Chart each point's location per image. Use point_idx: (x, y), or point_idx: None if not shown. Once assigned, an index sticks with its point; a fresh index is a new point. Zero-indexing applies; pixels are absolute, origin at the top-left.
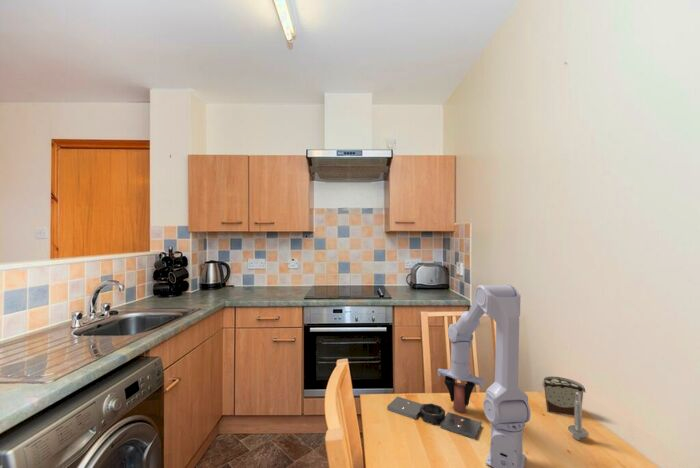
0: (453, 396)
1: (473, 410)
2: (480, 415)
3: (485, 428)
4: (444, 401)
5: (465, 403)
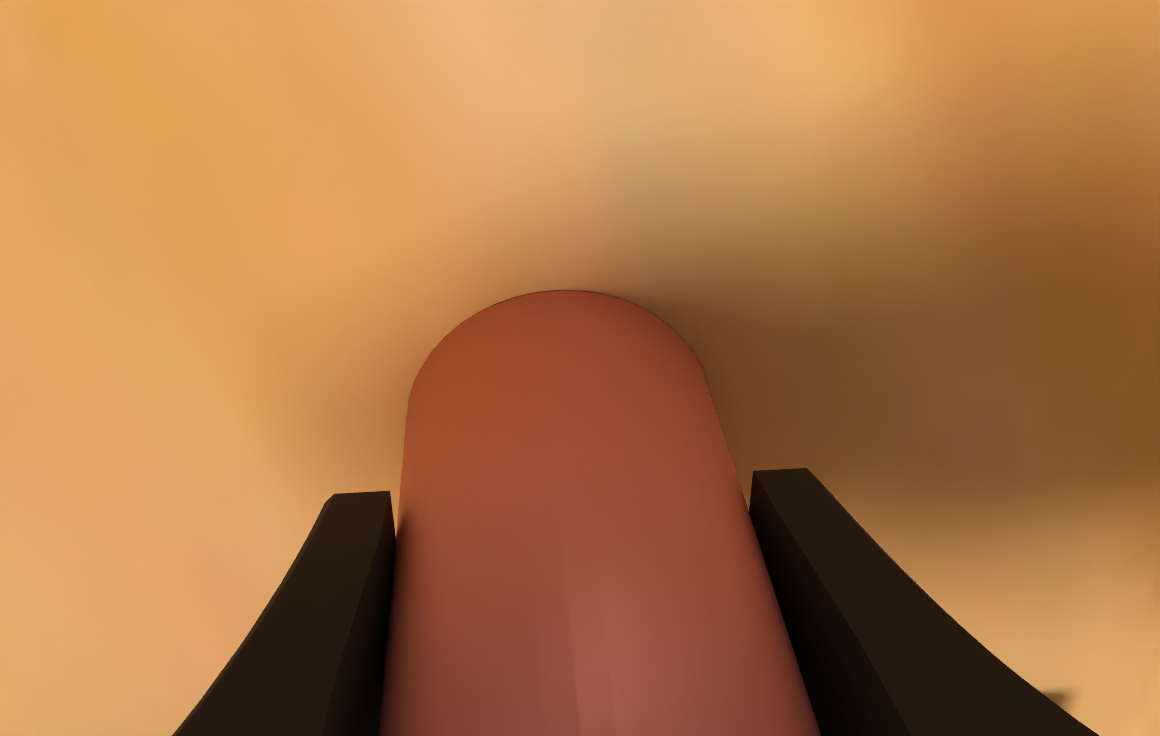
0: None
1: (869, 251)
2: (1035, 373)
3: (1098, 704)
4: (47, 256)
5: None
